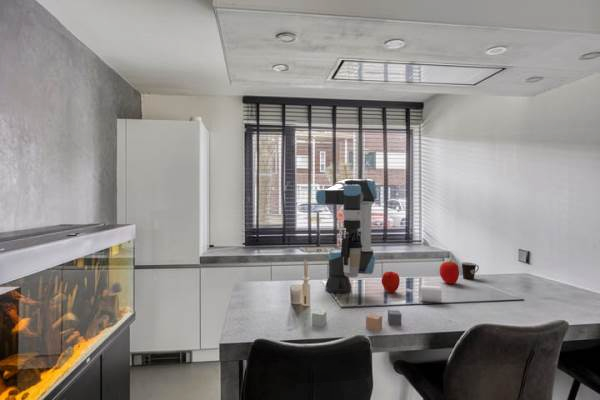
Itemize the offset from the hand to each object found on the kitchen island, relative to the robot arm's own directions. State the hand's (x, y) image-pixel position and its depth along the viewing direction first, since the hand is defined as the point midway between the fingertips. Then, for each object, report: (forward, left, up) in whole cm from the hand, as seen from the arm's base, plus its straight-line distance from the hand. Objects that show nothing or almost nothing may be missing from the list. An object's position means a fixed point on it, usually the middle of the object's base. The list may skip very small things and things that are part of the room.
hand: (351, 270), depth 153 cm
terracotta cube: (+12, -2, -22) cm, 25 cm away
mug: (+20, +51, -22) cm, 59 cm away
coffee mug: (+29, +115, -22) cm, 121 cm away
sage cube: (-9, -12, -22) cm, 27 cm away
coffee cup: (0, 0, -2) cm, 2 cm away
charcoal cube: (+17, +8, -22) cm, 29 cm away
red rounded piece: (-2, +52, -22) cm, 57 cm away
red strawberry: (+20, +94, -22) cm, 99 cm away
